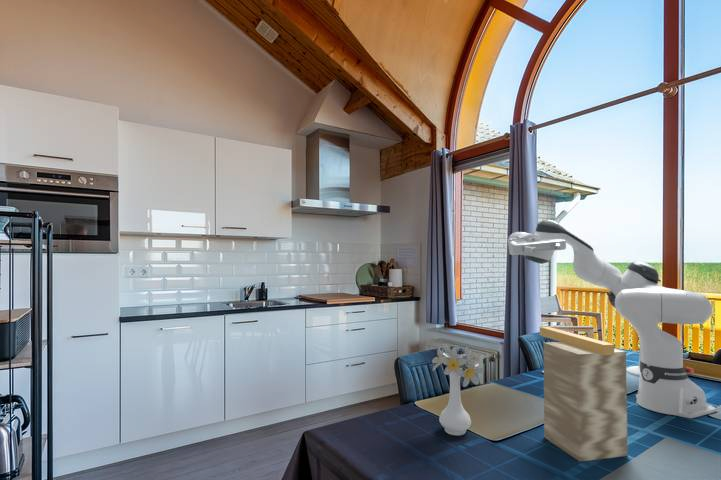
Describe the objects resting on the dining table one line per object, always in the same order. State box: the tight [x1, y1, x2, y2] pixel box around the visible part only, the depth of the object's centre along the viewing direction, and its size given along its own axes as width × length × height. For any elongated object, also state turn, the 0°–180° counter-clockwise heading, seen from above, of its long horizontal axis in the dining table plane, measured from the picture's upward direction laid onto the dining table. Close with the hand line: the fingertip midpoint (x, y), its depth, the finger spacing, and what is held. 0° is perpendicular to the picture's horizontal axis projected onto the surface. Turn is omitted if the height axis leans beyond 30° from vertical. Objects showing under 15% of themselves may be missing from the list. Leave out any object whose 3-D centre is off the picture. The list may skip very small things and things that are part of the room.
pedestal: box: [543, 341, 629, 463], centre depth 105 cm, size 14×13×26 cm
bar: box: [539, 326, 615, 355], centre depth 109 cm, size 3×24×2 cm, turn 12°
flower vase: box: [431, 343, 485, 436], centre depth 113 cm, size 12×18×24 cm
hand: (546, 248), depth 145 cm, fingers open, 8 cm apart
